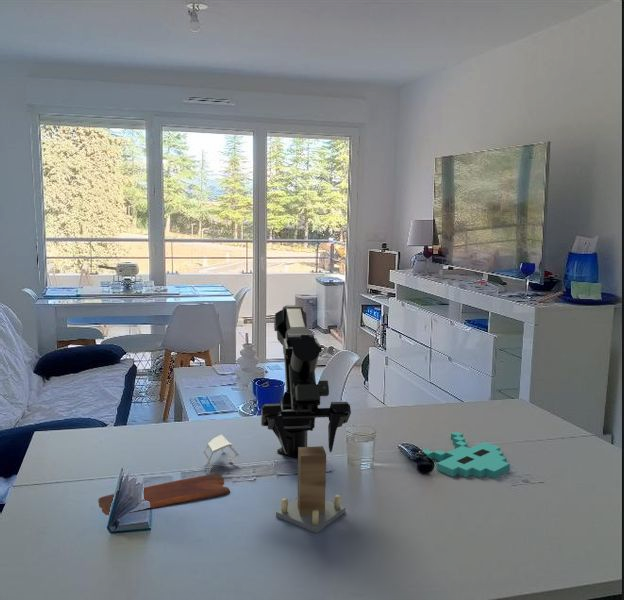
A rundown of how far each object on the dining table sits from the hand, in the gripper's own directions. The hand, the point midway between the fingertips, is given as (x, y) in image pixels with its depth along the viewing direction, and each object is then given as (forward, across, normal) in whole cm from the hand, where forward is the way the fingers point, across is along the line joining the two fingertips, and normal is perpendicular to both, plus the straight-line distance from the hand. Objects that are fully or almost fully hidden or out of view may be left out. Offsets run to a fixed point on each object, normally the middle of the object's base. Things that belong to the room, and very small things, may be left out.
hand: (308, 452), depth 124 cm
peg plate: (+11, 0, +5) cm, 12 cm away
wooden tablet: (+4, -30, +13) cm, 33 cm away
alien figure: (-3, +41, +20) cm, 46 cm away
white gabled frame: (-8, -18, +24) cm, 31 cm away
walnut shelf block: (+10, 0, +4) cm, 11 cm away
